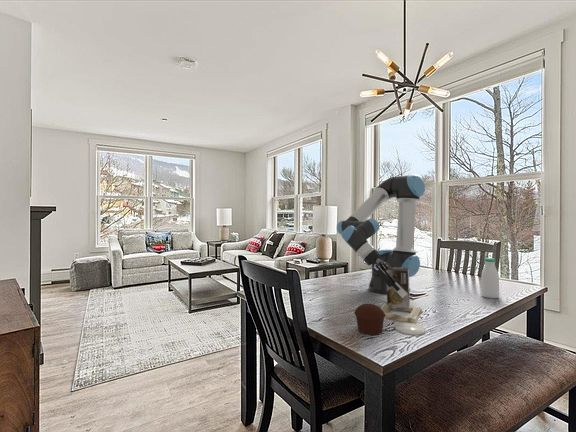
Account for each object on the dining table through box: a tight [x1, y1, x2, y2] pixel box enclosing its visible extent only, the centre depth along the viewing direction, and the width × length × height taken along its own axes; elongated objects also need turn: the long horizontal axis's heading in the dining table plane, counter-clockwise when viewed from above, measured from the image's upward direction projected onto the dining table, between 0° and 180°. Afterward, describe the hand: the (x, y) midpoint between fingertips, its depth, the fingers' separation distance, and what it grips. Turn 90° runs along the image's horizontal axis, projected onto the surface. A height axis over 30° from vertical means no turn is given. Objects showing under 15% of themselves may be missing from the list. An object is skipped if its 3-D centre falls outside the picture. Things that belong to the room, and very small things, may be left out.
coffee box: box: [386, 267, 411, 308], centre depth 136 cm, size 9×6×16 cm
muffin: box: [353, 303, 385, 337], centre depth 120 cm, size 12×11×10 cm
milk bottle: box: [480, 257, 500, 299], centre depth 162 cm, size 8×8×20 cm
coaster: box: [394, 322, 426, 336], centre depth 121 cm, size 11×11×1 cm
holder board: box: [380, 302, 423, 324], centre depth 137 cm, size 16×16×2 cm
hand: (406, 293), depth 135 cm, fingers closed on coffee box, 7 cm apart
